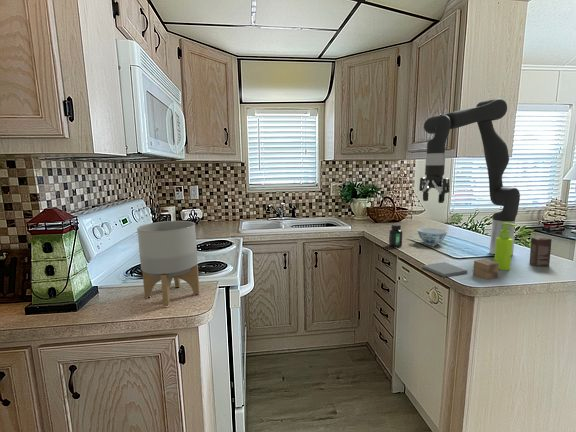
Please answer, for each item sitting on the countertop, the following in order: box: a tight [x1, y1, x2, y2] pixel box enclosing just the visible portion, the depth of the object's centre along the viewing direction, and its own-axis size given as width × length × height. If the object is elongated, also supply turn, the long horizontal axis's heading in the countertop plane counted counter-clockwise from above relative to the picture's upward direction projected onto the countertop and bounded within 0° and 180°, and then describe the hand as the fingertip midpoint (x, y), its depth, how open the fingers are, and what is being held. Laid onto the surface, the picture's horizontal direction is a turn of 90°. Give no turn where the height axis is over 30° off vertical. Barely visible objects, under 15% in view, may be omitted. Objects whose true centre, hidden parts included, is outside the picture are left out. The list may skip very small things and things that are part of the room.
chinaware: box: [417, 227, 448, 246], centre depth 179 cm, size 15×15×8 cm
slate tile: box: [422, 261, 468, 278], centre depth 135 cm, size 12×12×1 cm
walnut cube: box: [472, 258, 499, 280], centre depth 127 cm, size 6×6×6 cm
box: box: [529, 237, 552, 267], centre depth 139 cm, size 6×4×12 cm
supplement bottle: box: [388, 223, 403, 249], centre depth 174 cm, size 7×7×12 cm
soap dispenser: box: [493, 223, 518, 271], centre depth 135 cm, size 6×7×20 cm
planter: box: [136, 220, 201, 307], centre depth 112 cm, size 19×19×26 cm
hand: (433, 201), depth 138 cm, fingers open, 8 cm apart
